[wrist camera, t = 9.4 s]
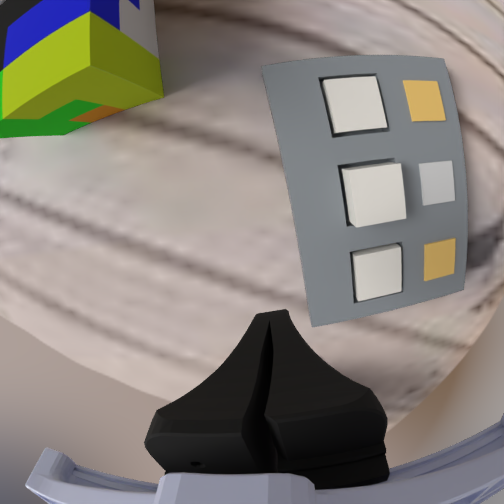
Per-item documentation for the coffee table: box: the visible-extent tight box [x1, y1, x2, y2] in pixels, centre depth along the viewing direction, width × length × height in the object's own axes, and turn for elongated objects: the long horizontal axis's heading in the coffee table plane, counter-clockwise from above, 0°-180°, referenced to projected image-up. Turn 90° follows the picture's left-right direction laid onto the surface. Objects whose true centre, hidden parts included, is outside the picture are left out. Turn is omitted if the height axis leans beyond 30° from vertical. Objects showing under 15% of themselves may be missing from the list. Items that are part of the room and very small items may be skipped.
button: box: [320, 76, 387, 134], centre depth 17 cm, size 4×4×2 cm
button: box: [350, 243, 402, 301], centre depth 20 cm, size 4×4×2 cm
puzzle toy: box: [0, 0, 164, 138], centre depth 13 cm, size 10×10×10 cm
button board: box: [261, 55, 468, 327], centre depth 19 cm, size 19×14×2 cm
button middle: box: [342, 162, 406, 228], centre depth 17 cm, size 4×4×2 cm
